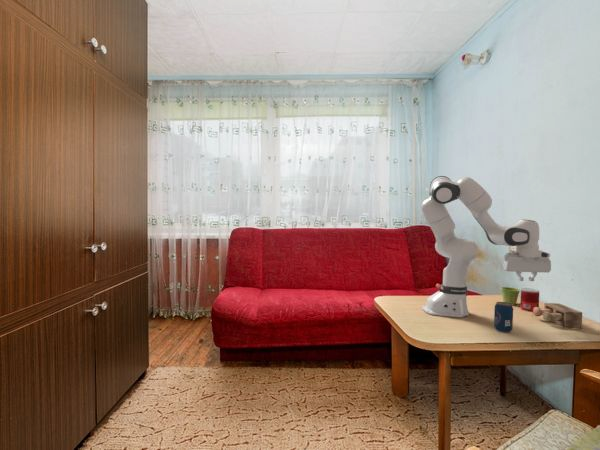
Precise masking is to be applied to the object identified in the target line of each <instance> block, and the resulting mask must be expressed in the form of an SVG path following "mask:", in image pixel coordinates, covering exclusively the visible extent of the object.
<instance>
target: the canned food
mask: <svg viewBox="0 0 600 450" xmlns="http://www.w3.org/2000/svg"><path fill="white" fill-rule="evenodd" d="M519 305H520V309H521V310H522V311H525V312H529V313H533V309H534V307H539V308H540V290H538V289H534V288H528V287H522V288H521V289H520V304H519Z"/></svg>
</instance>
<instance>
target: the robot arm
mask: <svg viewBox="0 0 600 450" xmlns="http://www.w3.org/2000/svg"><path fill="white" fill-rule="evenodd" d="M455 200H459V201H460V202H461V203H462V204H463V205H464V206H465V207H466V208H467V210H468V211H470V213H471V215H472V216H473V218H474V220H475V221H476V222H477V223H478V224H479V225H480V226H481V228H482V229H483V231H484V233H485V236H486V238H487V241H488V242H489V243H491V244H493V245H495V246H496V245H498V246H500V245H501V246H508V247H516V252H506V253H505V254H504V256H503V257H504V258H503V259H504V260H503V267H502V268H503V270H504V271H506V272H515V274H516V276H517V280H518V281H519V282H524V277H523V276H522V274H523V273H531V275H530V276H529V277H528V281H529V282H534V281H535V278H536V277H537V275H538V273H547V274H549V273H550V272H551V271H552V261H551V259H550V257H551V254H550V253H549V252H546V251H543V250H540V245H539V240H540V226H539V223H538V222H537V221H536V220H532V219H519V221H518V222H516V223H514V224H510V225H508V226H507V225H501V224H498V223H496V222H495V220H494V219H493V217H492V216H491V215H490V214H489V211H488V210H490V209H491V207H492V205H493V199H492V198H491V195H490V194H489V193H488V192H487V191H486V189H484V188H483V186H482V185H481V184H479V182H477V181H475V179H473V178H472V177H469V176H465V177H461V178H460V179H459V180H457V181H452V180H451V178H450V177H447V176H444V175H440V176H436V177H434V178H433V179H432V180H431V182H430V184H429V197H427V198H426V199H424V200H423V201H422V203H421V207H420V208H421V211H422V214H423V217H424V218H425V221H426V222H427V224H428V226H429V227H430V229H431V231H432V233H433V235H434V238H435V244H434V248H435V249H434V250H435V251H436V253H438V254H439V255H440V256H442V257H444V258H448V259H449V260H448V264H447V266H446V267H444V268H443V271H442V283H441V284H440V283H436V285H435V287H436V288H437V289H438V291H436V292H435V293H433V294H431V295H430V296H428V298H427V300H426V304H423V305H422V307H421V310H422V311H424V312H425V313H426V314H429V315H430V316H431V315H433V316H441V317H453V318H461V319H462V318H464V317H465V316H469V314H470V313H469V309H468V301H467V296H468V286H467V276H468V271H469V267H470V265H471V263H472V261H474V260H475V259H476V258H477V257H478V254H479V247H478V245H477V244H476V243H475V242H473V241H472V240H469V239H467V238H459V237H457V236H456V234H455V229H456V224H455V222H454V219H453V218H452V216H451V214H450V212H449V211H448V209H447V207H446V205H445V204H450V203H451V202H453V201H455Z"/></svg>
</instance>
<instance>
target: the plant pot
mask: <svg viewBox="0 0 600 450" xmlns="http://www.w3.org/2000/svg"><path fill="white" fill-rule="evenodd" d="M500 290H501V293H502V300H503V301H502V302H506V303H510V304H512V305H513V306H515V305H517V302H518V297H519V293H520V292H521V289H519V288H515V287H509V286H500Z"/></svg>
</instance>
